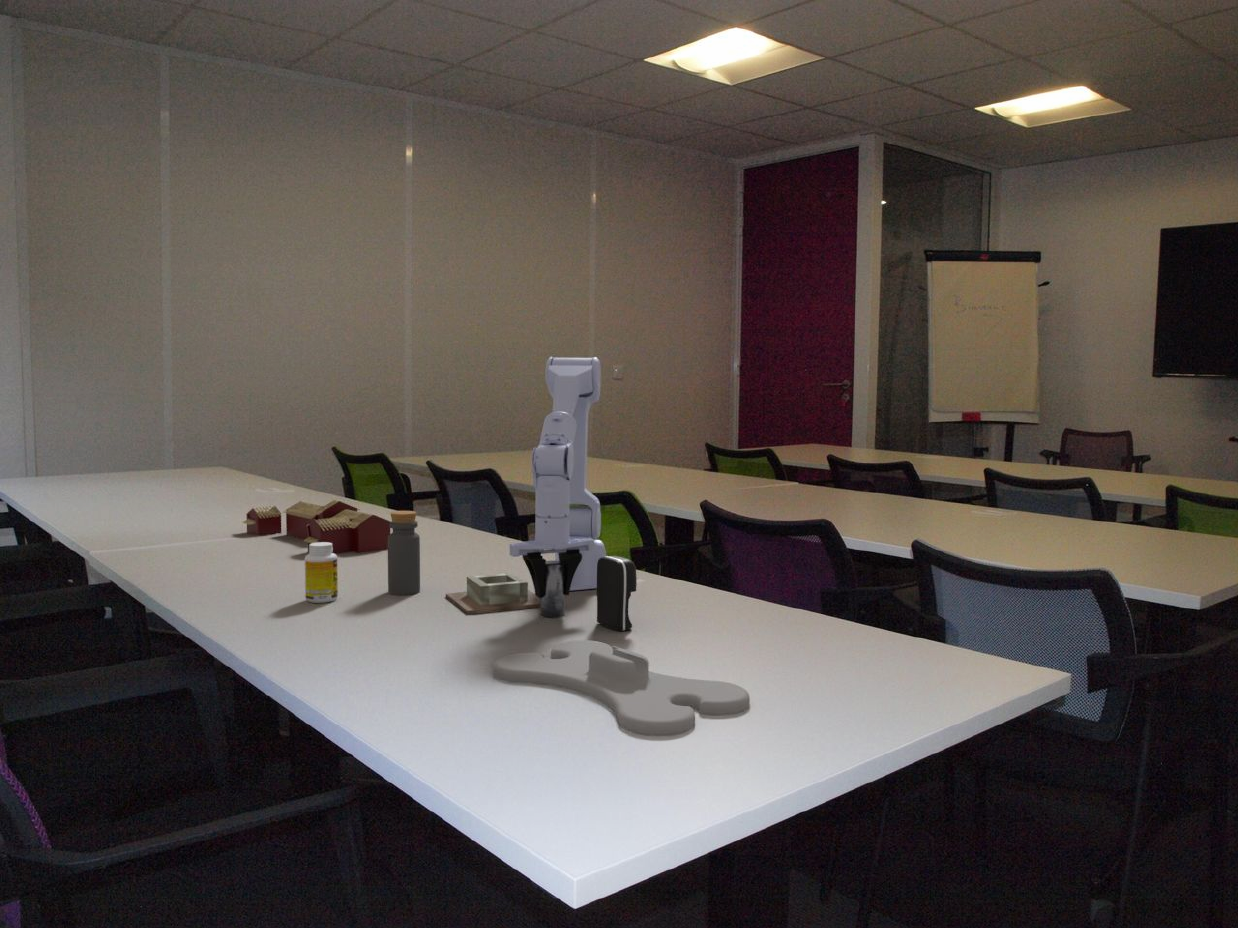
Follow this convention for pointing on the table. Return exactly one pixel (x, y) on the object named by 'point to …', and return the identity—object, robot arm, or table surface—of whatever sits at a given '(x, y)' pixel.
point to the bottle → (403, 554)
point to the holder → (625, 686)
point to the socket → (494, 594)
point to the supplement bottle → (321, 573)
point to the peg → (553, 590)
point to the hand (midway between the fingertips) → (552, 595)
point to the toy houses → (324, 526)
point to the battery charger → (615, 591)
